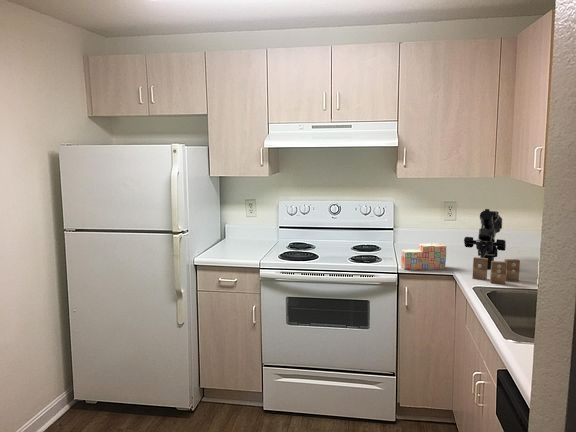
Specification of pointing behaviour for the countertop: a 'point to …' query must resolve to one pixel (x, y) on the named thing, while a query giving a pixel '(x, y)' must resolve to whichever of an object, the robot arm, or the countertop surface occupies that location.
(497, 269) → the light brown wooden block
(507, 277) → the tile two
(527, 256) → the countertop surface
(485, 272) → the wooden block
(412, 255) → the stack of blocks
